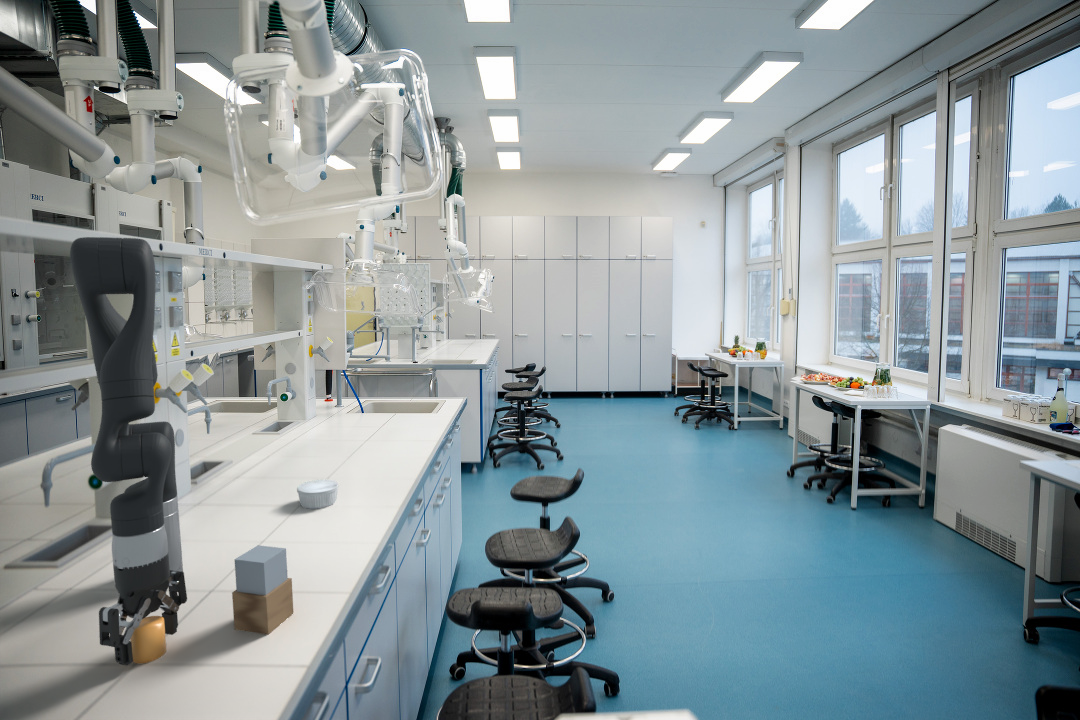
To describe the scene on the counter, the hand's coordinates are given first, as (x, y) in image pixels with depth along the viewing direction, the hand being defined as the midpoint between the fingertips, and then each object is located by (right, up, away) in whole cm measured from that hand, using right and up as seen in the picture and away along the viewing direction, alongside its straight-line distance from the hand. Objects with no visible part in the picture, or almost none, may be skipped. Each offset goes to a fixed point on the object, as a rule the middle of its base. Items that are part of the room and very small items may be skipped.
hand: (148, 647), depth 98 cm
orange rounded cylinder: (0, -1, 0) cm, 1 cm away
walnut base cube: (+15, 0, +10) cm, 18 cm away
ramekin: (+2, +7, +70) cm, 71 cm away
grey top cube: (+15, +7, +9) cm, 19 cm away
